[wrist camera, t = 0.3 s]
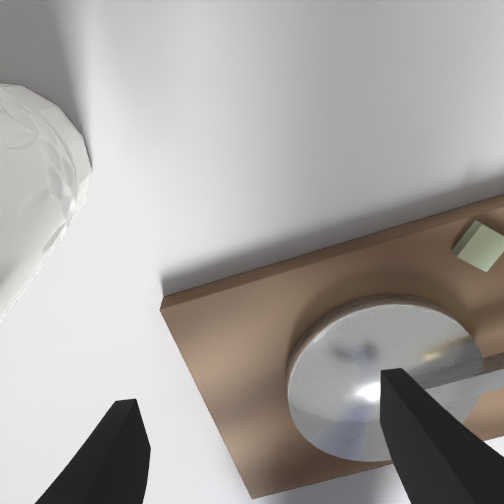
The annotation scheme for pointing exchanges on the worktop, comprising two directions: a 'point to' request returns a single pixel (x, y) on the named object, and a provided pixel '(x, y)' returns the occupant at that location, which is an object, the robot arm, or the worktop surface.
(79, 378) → the worktop surface
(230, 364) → the brown flat rectangular slab
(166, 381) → the worktop surface
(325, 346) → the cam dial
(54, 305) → the worktop surface
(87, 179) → the white cup
